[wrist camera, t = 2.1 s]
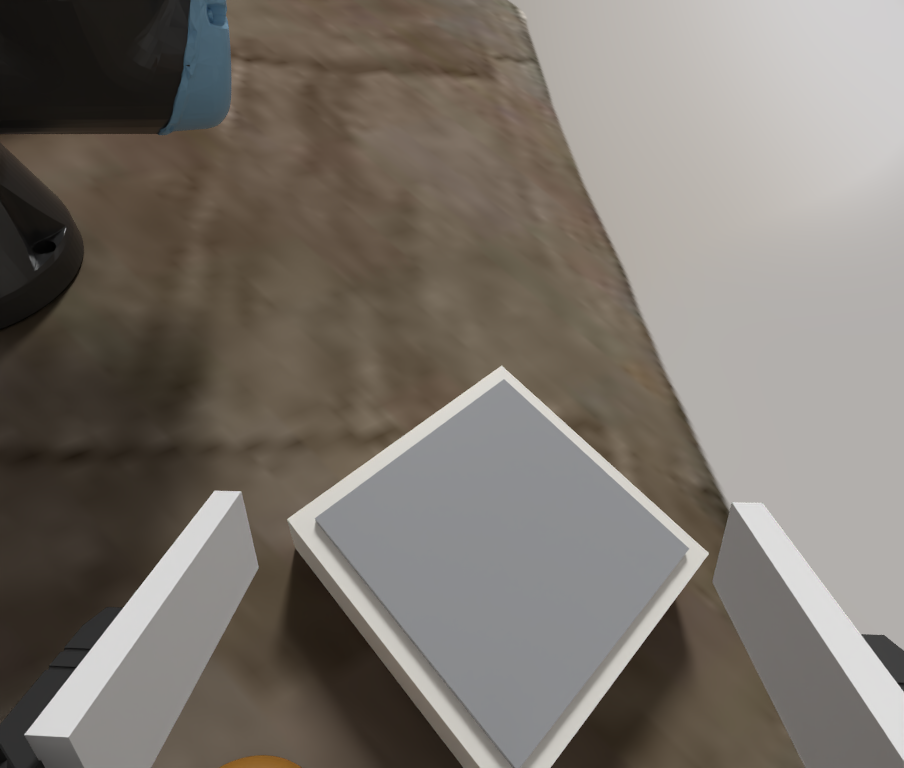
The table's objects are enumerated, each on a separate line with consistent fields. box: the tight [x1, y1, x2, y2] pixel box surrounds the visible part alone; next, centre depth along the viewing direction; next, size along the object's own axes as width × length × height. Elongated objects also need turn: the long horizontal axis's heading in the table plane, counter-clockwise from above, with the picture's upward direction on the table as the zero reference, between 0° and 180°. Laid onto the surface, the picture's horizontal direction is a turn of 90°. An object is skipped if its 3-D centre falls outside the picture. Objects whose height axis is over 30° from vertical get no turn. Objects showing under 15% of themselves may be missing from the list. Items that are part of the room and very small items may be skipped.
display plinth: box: [287, 366, 709, 768], centre depth 29 cm, size 16×16×5 cm
